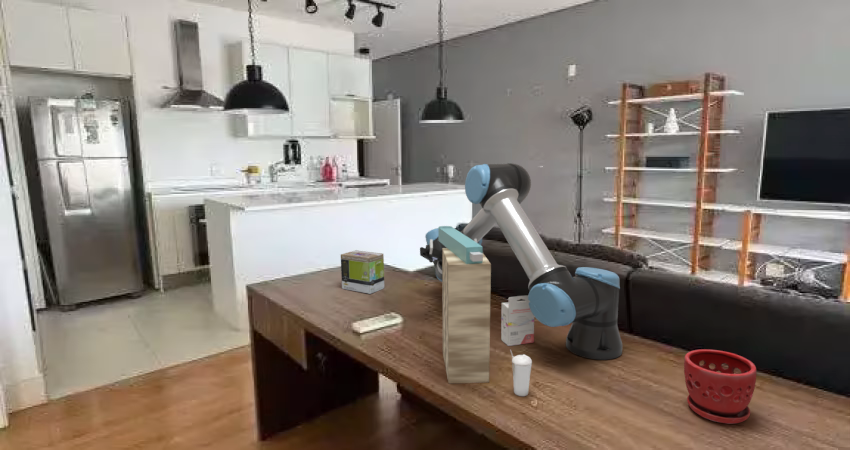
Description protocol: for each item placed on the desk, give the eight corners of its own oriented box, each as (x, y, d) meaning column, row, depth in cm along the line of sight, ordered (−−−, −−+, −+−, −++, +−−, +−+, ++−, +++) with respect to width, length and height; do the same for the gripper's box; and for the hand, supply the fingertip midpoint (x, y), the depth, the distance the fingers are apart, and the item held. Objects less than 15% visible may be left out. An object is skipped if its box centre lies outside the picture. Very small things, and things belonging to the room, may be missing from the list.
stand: (442, 351, 134) (442, 248, 128) (477, 350, 134) (478, 247, 129) (448, 383, 116) (448, 264, 111) (489, 382, 116) (490, 263, 111)
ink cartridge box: (526, 336, 144) (527, 290, 141) (534, 342, 139) (535, 294, 137) (500, 339, 142) (501, 292, 139) (507, 346, 137) (508, 297, 134)
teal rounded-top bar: (437, 239, 140) (437, 226, 140) (450, 238, 141) (450, 225, 140) (469, 266, 109) (469, 249, 108) (486, 265, 110) (486, 248, 109)
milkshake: (514, 385, 115) (515, 346, 113) (534, 392, 112) (535, 352, 110) (504, 392, 111) (505, 352, 110) (525, 400, 108) (526, 359, 106)
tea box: (385, 288, 193) (384, 253, 191) (369, 295, 185) (368, 258, 183) (357, 283, 201) (355, 249, 199) (341, 289, 193) (339, 253, 190)
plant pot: (724, 395, 109) (729, 346, 107) (766, 428, 96) (773, 374, 94) (668, 396, 109) (672, 347, 107) (703, 430, 96) (709, 375, 94)
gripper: (485, 272, 163) (495, 254, 143) (412, 273, 162) (413, 255, 142) (483, 251, 165) (493, 230, 145) (412, 252, 164) (412, 232, 144)
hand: (453, 243), depth 144 cm, fingers open, 13 cm apart
